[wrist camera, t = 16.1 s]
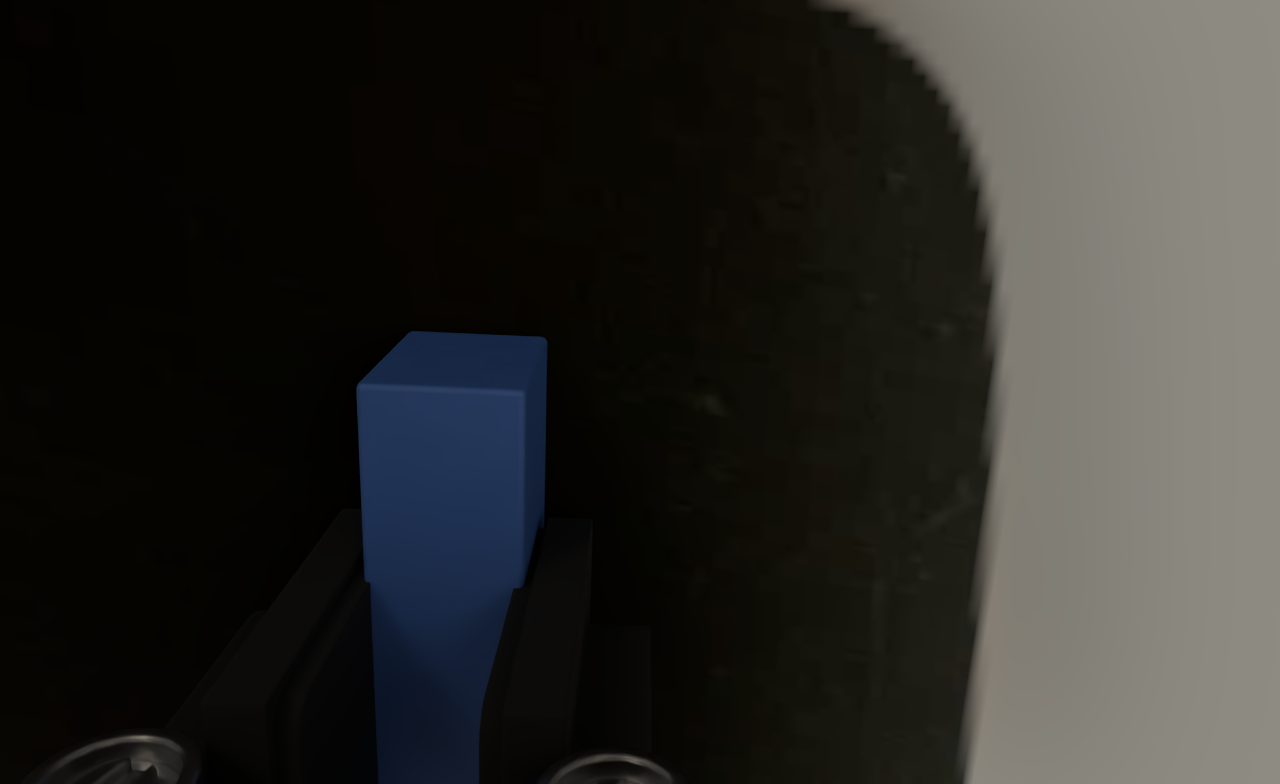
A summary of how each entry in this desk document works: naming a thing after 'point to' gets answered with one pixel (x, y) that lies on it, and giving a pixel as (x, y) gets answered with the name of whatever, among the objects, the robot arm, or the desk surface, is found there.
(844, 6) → the desk surface
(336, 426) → the desk surface
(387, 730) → the blue spoon
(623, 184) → the desk surface
